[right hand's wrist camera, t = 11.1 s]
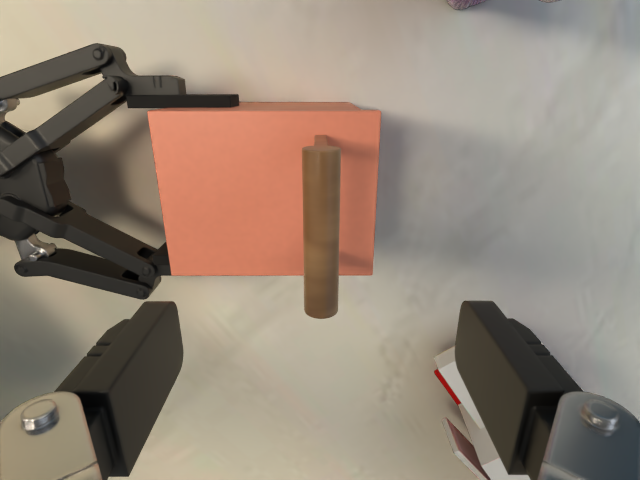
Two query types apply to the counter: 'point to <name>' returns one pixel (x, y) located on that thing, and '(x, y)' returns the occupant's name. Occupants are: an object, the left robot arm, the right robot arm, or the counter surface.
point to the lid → (269, 194)
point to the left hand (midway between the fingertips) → (240, 182)
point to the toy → (469, 426)
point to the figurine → (464, 0)
